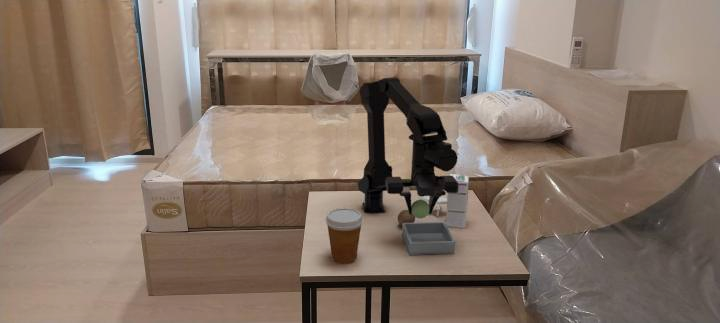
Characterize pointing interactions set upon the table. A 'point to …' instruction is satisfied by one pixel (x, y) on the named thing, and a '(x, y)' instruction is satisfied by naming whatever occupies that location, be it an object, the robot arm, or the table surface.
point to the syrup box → (458, 203)
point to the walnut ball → (405, 217)
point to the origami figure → (440, 201)
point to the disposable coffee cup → (344, 233)
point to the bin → (428, 238)
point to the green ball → (420, 209)
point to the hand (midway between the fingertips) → (419, 213)
